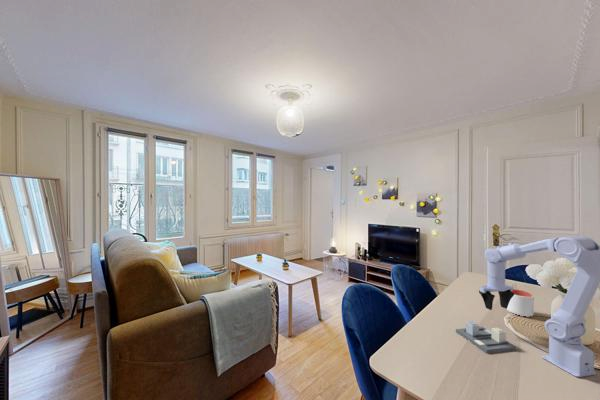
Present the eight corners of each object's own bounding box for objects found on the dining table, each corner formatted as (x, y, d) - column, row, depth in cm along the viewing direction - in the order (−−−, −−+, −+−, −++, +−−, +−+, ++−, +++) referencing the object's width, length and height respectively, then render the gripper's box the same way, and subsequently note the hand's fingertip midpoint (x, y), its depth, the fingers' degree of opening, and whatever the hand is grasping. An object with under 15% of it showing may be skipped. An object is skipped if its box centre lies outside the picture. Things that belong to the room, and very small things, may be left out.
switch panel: (516, 349, 86) (516, 345, 86) (486, 353, 84) (486, 348, 84) (482, 329, 99) (482, 325, 99) (455, 332, 97) (455, 328, 97)
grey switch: (479, 335, 92) (479, 324, 92) (472, 335, 92) (472, 325, 92) (472, 331, 95) (472, 320, 95) (466, 331, 95) (466, 321, 95)
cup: (539, 319, 108) (539, 298, 108) (514, 316, 110) (514, 296, 110) (523, 309, 117) (523, 289, 117) (501, 307, 119) (501, 288, 119)
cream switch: (505, 342, 88) (505, 331, 88) (499, 343, 87) (499, 331, 87) (497, 337, 91) (497, 326, 91) (491, 338, 90) (491, 327, 90)
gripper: (501, 272, 103) (501, 302, 103) (473, 274, 101) (473, 305, 101) (518, 277, 96) (518, 310, 96) (488, 279, 94) (488, 312, 94)
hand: (496, 308), depth 98 cm, fingers open, 7 cm apart
